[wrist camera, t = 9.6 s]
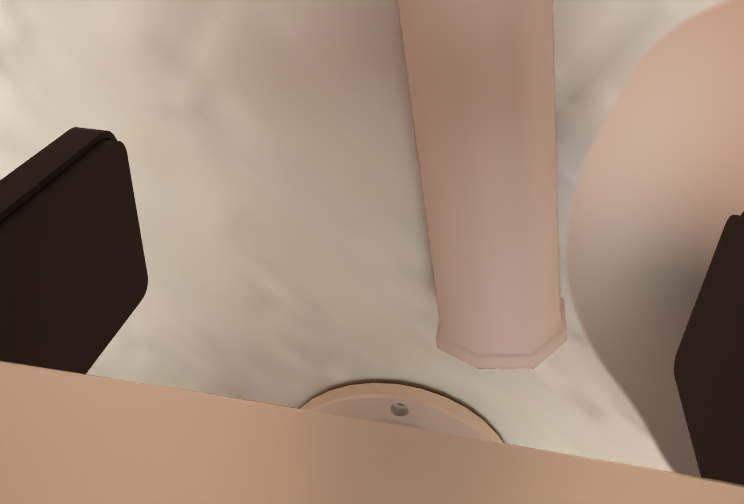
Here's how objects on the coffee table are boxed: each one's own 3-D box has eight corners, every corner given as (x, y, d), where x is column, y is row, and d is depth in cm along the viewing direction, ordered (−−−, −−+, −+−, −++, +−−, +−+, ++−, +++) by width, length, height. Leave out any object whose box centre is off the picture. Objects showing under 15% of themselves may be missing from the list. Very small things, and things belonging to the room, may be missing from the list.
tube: (275, -522, 15) (415, 355, 28) (507, -643, 13) (546, 385, 25) (387, -466, 19) (465, 283, 32) (582, -551, 17) (584, 303, 29)
